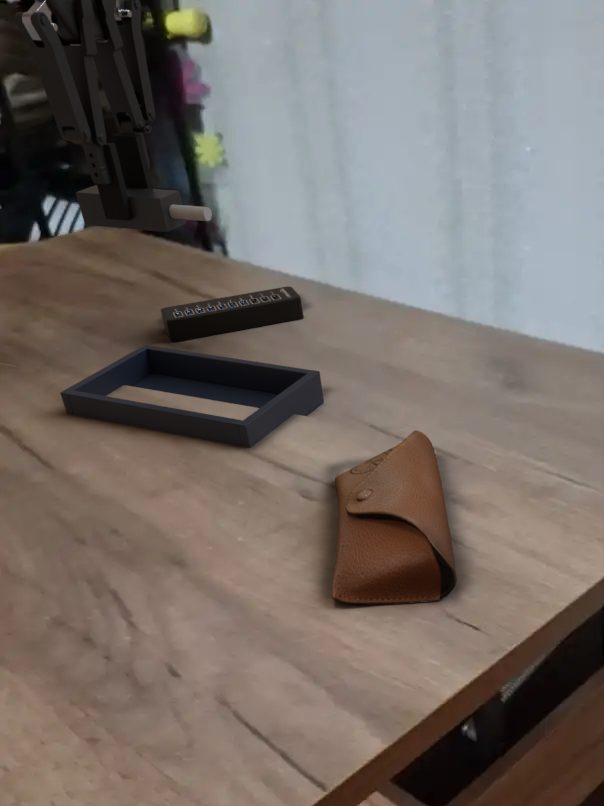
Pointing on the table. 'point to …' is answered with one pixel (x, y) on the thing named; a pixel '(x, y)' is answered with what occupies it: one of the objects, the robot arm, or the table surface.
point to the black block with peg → (142, 210)
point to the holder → (197, 394)
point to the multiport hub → (231, 313)
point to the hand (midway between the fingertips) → (132, 213)
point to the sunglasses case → (393, 529)
